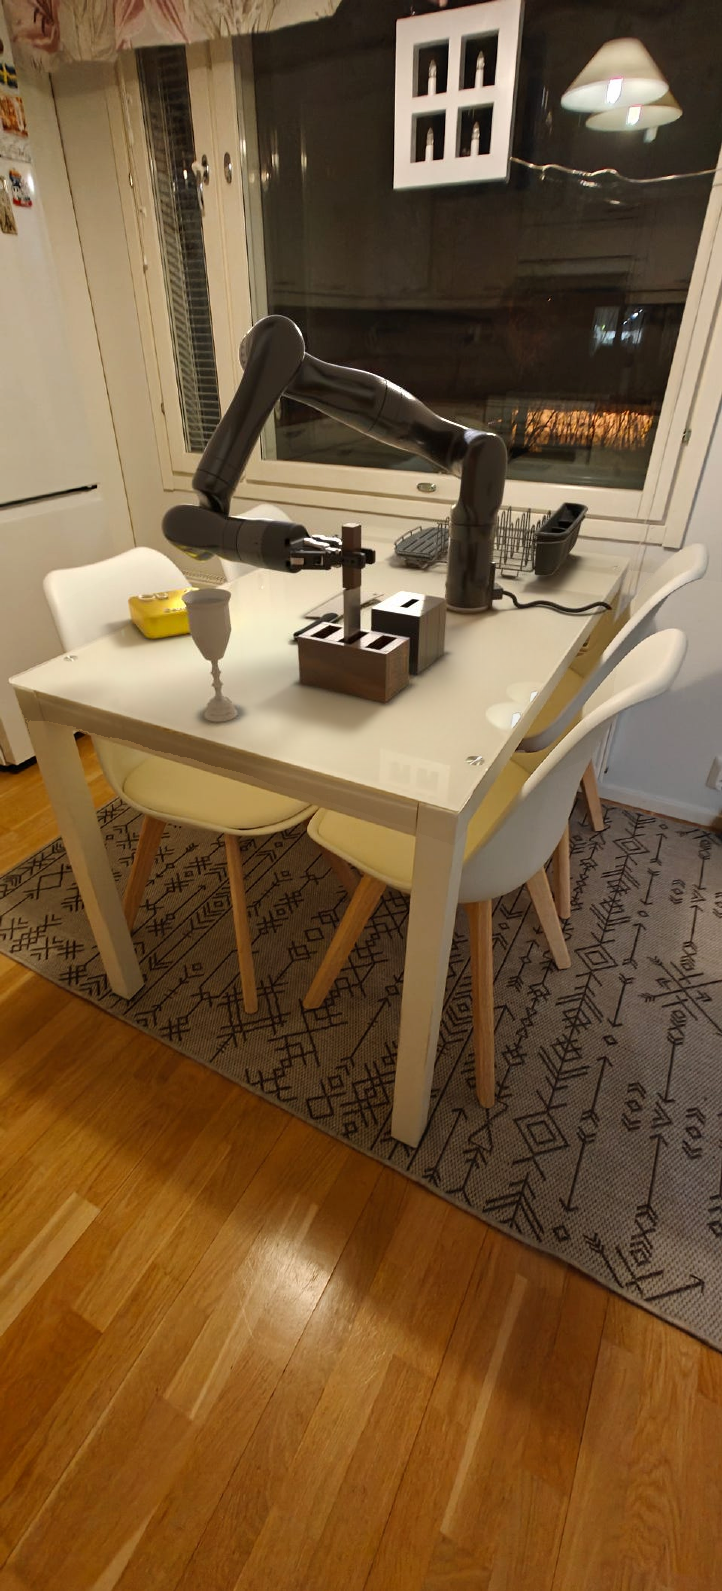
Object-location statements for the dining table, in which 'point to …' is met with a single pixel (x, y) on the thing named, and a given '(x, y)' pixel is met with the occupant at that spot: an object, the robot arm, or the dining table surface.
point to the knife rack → (354, 662)
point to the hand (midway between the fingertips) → (369, 559)
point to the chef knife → (351, 585)
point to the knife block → (414, 625)
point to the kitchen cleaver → (333, 610)
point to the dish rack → (549, 544)
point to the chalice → (211, 641)
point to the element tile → (160, 613)
